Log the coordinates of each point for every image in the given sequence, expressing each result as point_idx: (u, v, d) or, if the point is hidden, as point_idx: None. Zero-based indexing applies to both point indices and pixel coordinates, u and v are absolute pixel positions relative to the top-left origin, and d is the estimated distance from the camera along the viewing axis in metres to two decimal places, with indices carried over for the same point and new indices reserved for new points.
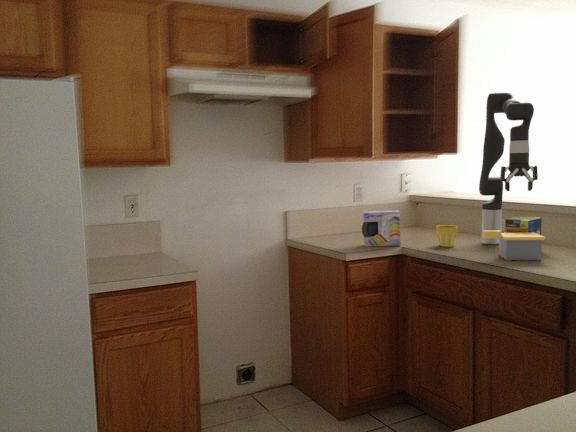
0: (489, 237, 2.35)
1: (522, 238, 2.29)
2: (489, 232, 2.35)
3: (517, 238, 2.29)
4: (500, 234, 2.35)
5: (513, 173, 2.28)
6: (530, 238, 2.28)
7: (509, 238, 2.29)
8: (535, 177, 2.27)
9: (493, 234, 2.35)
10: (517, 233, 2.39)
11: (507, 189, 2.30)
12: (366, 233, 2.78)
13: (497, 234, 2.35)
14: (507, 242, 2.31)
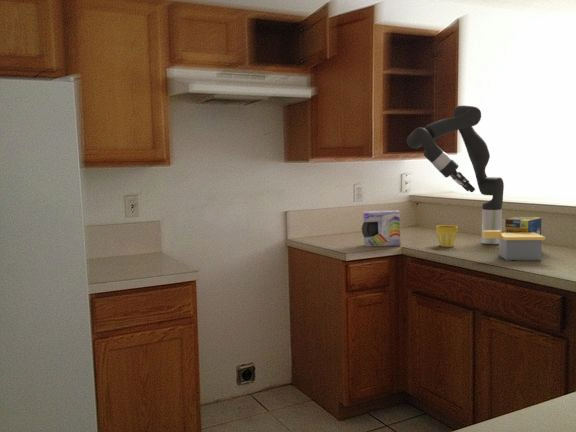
0: (489, 237, 2.35)
1: (522, 238, 2.29)
2: (489, 232, 2.35)
3: (517, 238, 2.29)
4: (500, 234, 2.35)
5: (455, 181, 2.43)
6: (530, 238, 2.28)
7: (509, 238, 2.29)
8: (463, 184, 2.34)
9: (493, 234, 2.35)
10: (517, 233, 2.39)
11: None
12: (366, 233, 2.78)
13: (497, 234, 2.35)
14: (507, 242, 2.31)
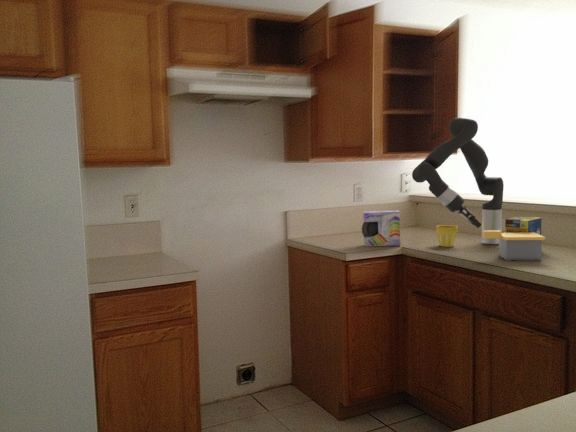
0: (489, 237, 2.35)
1: (522, 238, 2.29)
2: (489, 232, 2.35)
3: (517, 238, 2.29)
4: (500, 234, 2.35)
5: (461, 215, 2.40)
6: (530, 238, 2.28)
7: (509, 238, 2.29)
8: (469, 219, 2.31)
9: (493, 234, 2.35)
10: (517, 233, 2.39)
11: (473, 223, 2.42)
12: (366, 233, 2.78)
13: (497, 234, 2.35)
14: (507, 242, 2.31)
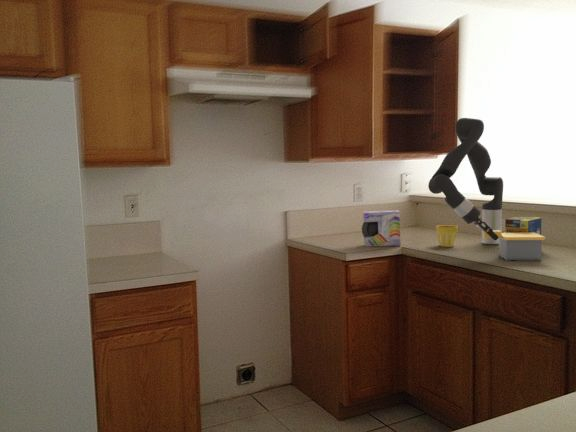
0: (489, 237, 2.35)
1: (522, 238, 2.29)
2: None
3: (517, 238, 2.29)
4: (500, 234, 2.35)
5: (478, 227, 2.39)
6: (530, 238, 2.28)
7: (509, 238, 2.29)
8: (486, 232, 2.33)
9: None
10: (517, 233, 2.39)
11: None
12: (366, 233, 2.78)
13: (497, 234, 2.35)
14: (507, 242, 2.31)
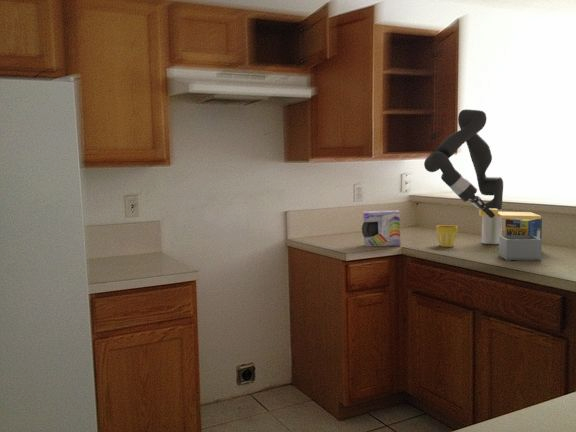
0: (485, 215, 2.34)
1: (518, 216, 2.28)
2: None
3: (513, 216, 2.28)
4: (496, 212, 2.34)
5: (474, 205, 2.38)
6: (526, 217, 2.28)
7: (505, 216, 2.29)
8: (483, 210, 2.32)
9: None
10: (514, 212, 2.39)
11: (488, 215, 2.39)
12: (366, 233, 2.78)
13: (494, 212, 2.34)
14: (507, 242, 2.31)
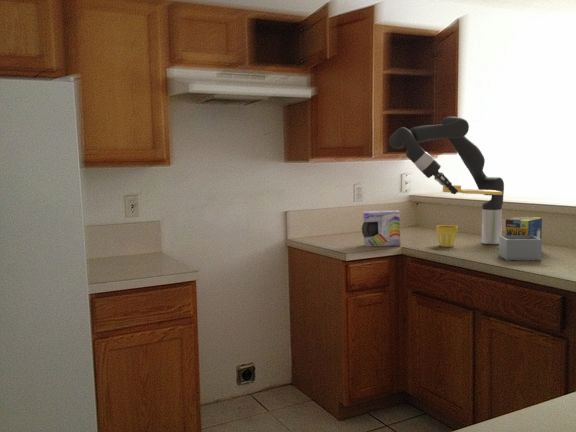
0: (448, 191, 2.37)
1: (480, 192, 2.31)
2: None
3: (475, 192, 2.31)
4: (459, 188, 2.37)
5: None
6: (488, 192, 2.31)
7: (467, 191, 2.32)
8: None
9: None
10: None
11: (451, 192, 2.42)
12: (366, 233, 2.78)
13: (457, 188, 2.37)
14: (507, 242, 2.31)
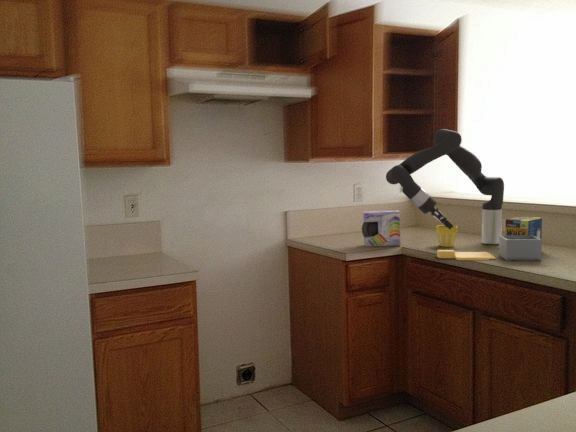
0: (443, 257, 2.42)
1: (474, 258, 2.35)
2: (443, 252, 2.41)
3: (469, 258, 2.35)
4: (453, 254, 2.41)
5: None
6: (481, 258, 2.35)
7: (461, 258, 2.36)
8: None
9: (447, 254, 2.41)
10: (470, 253, 2.46)
11: None
12: (366, 233, 2.78)
13: (451, 254, 2.41)
14: (507, 242, 2.31)
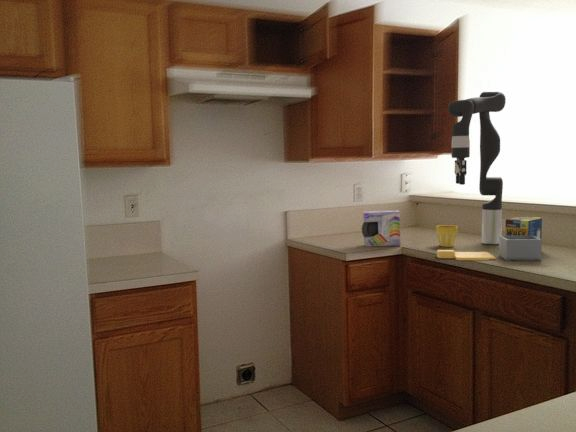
0: (443, 257, 2.42)
1: (474, 258, 2.35)
2: (443, 252, 2.41)
3: (469, 258, 2.35)
4: (453, 254, 2.41)
5: (455, 167, 2.43)
6: (481, 258, 2.35)
7: (461, 258, 2.36)
8: (460, 171, 2.34)
9: (446, 254, 2.41)
10: (470, 253, 2.46)
11: None
12: (366, 233, 2.78)
13: (451, 254, 2.41)
14: (507, 242, 2.31)
